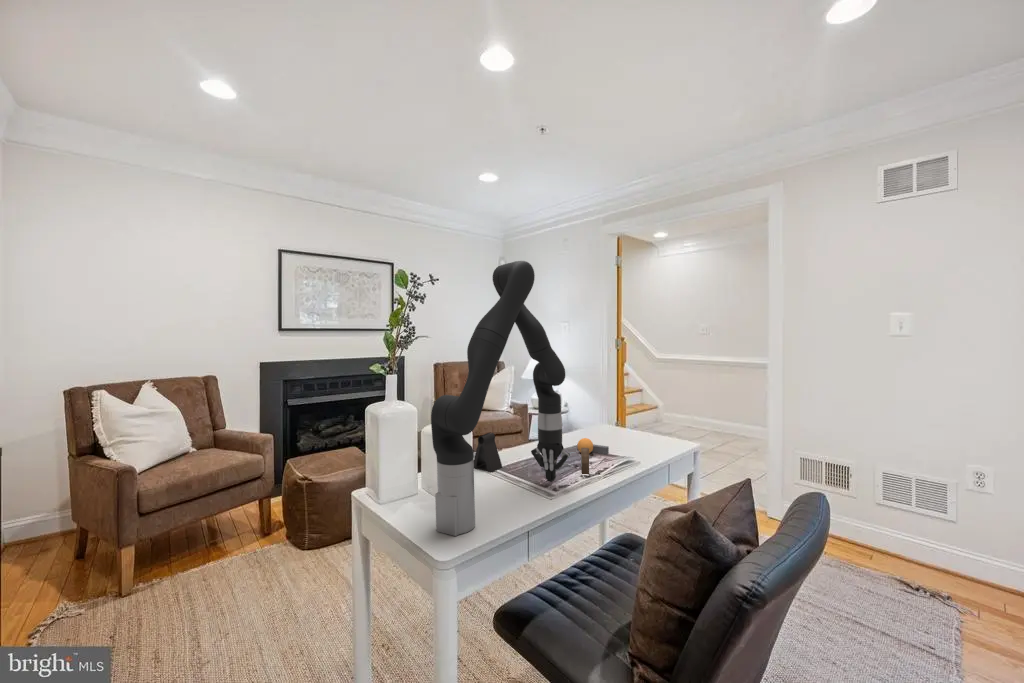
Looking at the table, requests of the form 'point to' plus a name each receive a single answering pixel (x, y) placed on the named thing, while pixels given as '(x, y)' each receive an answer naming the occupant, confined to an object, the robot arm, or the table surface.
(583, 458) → the right post
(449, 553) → the table surface
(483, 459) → the phone stand
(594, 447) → the wall
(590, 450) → the ball
